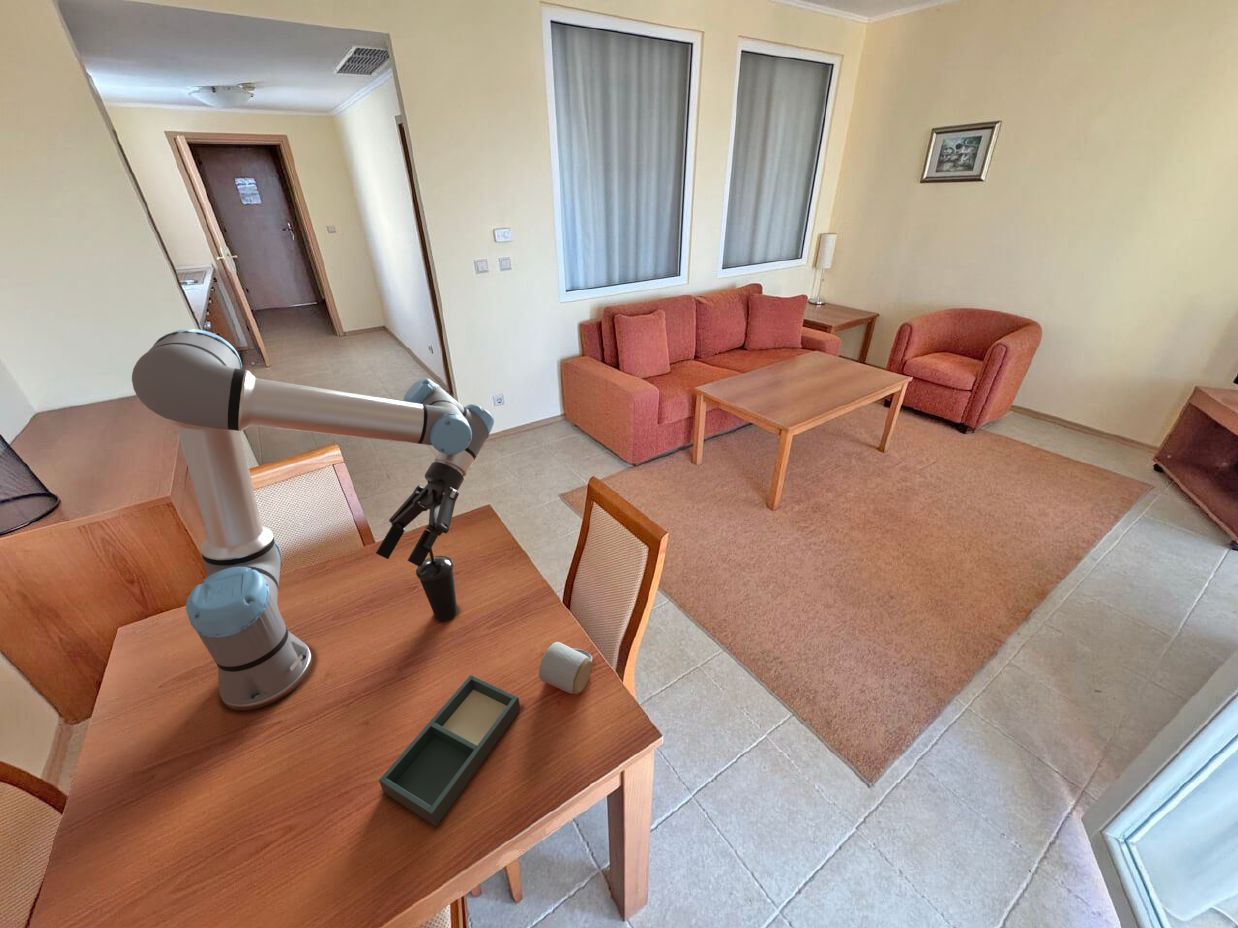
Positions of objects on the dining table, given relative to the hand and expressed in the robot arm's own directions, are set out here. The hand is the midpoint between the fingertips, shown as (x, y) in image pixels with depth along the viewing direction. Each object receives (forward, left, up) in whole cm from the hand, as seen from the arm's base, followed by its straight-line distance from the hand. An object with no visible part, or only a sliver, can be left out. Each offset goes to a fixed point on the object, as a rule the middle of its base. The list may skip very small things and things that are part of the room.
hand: (397, 560), depth 98 cm
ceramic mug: (+36, +5, -20) cm, 41 cm away
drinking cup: (+2, +7, -20) cm, 21 cm away
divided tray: (+26, -16, -20) cm, 36 cm away
